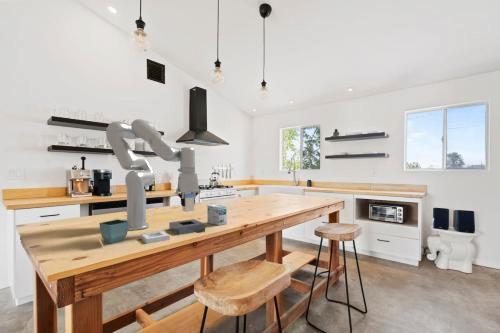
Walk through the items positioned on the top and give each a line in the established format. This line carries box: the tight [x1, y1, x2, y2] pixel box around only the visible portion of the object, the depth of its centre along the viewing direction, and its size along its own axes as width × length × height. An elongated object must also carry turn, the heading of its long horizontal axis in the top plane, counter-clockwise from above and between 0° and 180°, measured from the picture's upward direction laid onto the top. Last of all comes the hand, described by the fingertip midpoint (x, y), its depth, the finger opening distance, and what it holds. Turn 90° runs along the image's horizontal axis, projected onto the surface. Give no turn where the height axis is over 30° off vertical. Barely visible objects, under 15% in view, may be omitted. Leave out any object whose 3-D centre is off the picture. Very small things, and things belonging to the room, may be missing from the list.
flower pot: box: [98, 219, 129, 245], centre depth 108 cm, size 9×9×9 cm
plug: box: [181, 192, 195, 213], centre depth 128 cm, size 5×5×9 cm
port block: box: [168, 218, 206, 236], centre depth 129 cm, size 14×14×4 cm
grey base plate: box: [140, 230, 171, 245], centre depth 112 cm, size 10×10×2 cm
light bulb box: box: [206, 203, 228, 226], centre depth 146 cm, size 11×7×11 cm, turn 49°
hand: (188, 205), depth 129 cm, fingers closed on plug, 4 cm apart
